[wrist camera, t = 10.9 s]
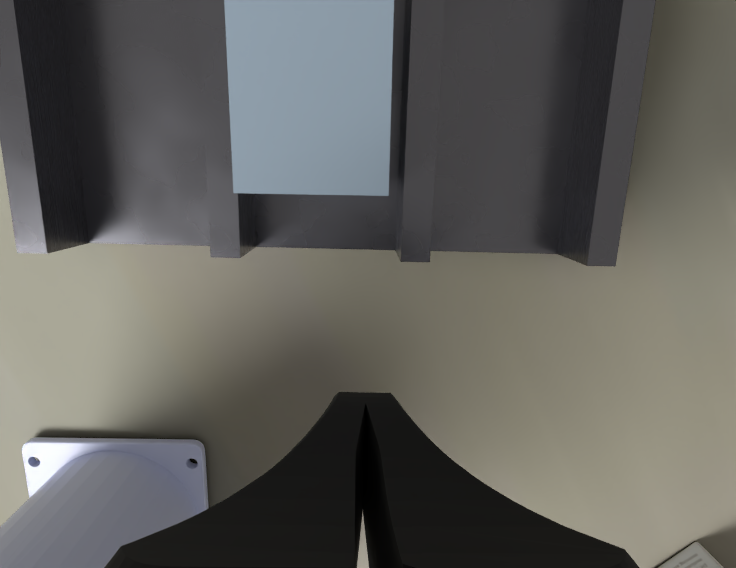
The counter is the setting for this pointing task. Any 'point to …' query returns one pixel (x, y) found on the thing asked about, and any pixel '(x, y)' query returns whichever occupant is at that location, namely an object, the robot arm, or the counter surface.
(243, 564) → the robot arm
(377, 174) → the rectangular block
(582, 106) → the rack
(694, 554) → the skincare box
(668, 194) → the counter surface
